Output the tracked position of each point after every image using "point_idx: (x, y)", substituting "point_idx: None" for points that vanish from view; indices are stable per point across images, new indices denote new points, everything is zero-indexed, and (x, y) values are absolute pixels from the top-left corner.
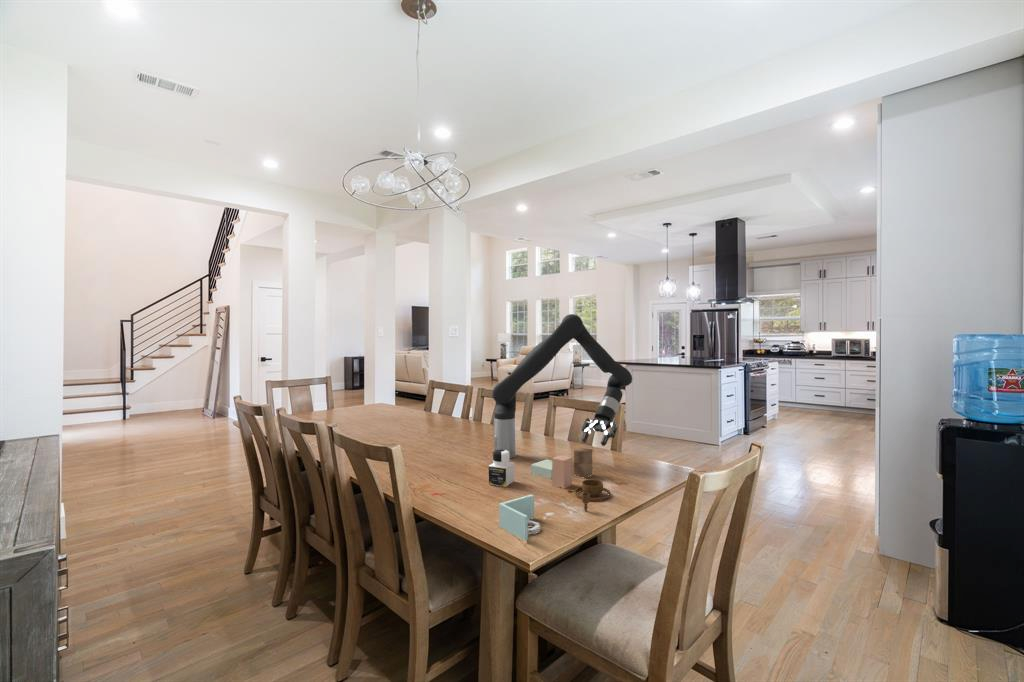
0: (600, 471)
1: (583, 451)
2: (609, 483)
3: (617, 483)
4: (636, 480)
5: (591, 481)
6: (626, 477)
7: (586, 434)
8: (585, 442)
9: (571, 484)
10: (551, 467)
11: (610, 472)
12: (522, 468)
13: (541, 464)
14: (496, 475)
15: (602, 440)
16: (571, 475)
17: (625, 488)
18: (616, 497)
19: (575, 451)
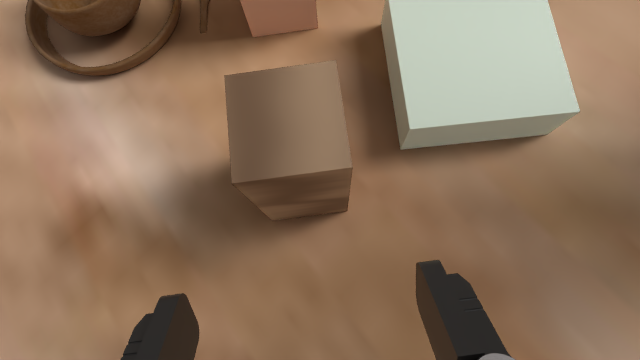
0: (284, 319)
1: (248, 83)
2: (128, 179)
3: (96, 209)
4: (34, 330)
5: (107, 3)
6: (103, 336)
7: (446, 343)
8: (418, 305)
9: (251, 31)
10: (416, 16)
11: (226, 349)
12: (626, 37)
13: (502, 14)
14: None
15: (161, 319)
16: (241, 1)
17: (31, 176)
18: (17, 59)
19: (319, 66)
